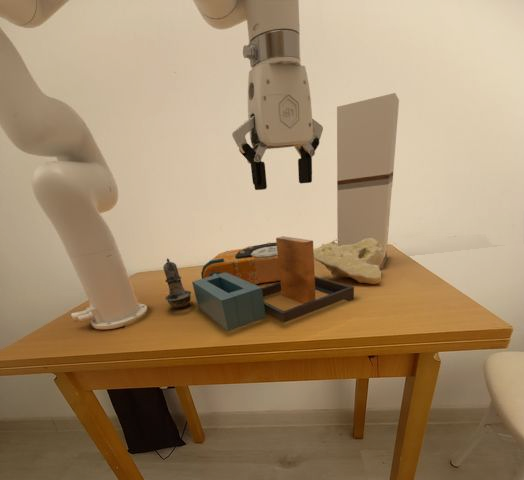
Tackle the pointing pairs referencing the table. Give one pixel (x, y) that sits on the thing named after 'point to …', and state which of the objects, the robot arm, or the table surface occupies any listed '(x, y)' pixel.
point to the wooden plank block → (296, 268)
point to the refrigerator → (365, 169)
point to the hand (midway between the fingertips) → (283, 186)
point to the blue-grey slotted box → (229, 300)
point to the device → (247, 264)
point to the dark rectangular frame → (322, 285)
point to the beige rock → (353, 260)
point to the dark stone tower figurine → (175, 287)
